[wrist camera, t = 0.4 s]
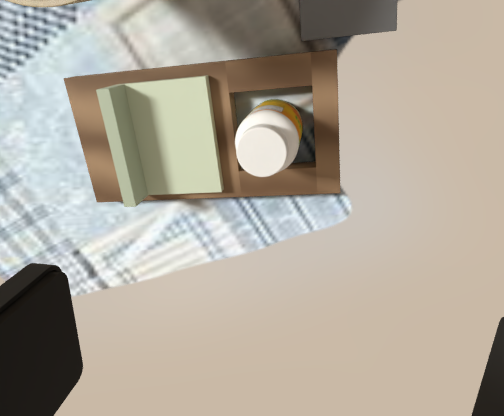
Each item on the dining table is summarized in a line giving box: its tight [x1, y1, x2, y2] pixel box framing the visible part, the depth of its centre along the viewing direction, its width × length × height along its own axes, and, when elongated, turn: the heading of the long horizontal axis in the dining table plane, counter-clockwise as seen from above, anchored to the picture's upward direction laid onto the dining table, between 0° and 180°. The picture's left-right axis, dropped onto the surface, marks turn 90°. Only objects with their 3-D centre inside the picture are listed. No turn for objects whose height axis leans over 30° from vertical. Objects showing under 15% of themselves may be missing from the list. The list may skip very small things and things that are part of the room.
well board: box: [64, 49, 340, 202], centre depth 41 cm, size 13×26×2 cm, turn 96°
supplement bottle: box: [235, 99, 303, 177], centre depth 36 cm, size 5×5×10 cm
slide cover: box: [96, 75, 224, 207], centre depth 38 cm, size 11×9×4 cm
